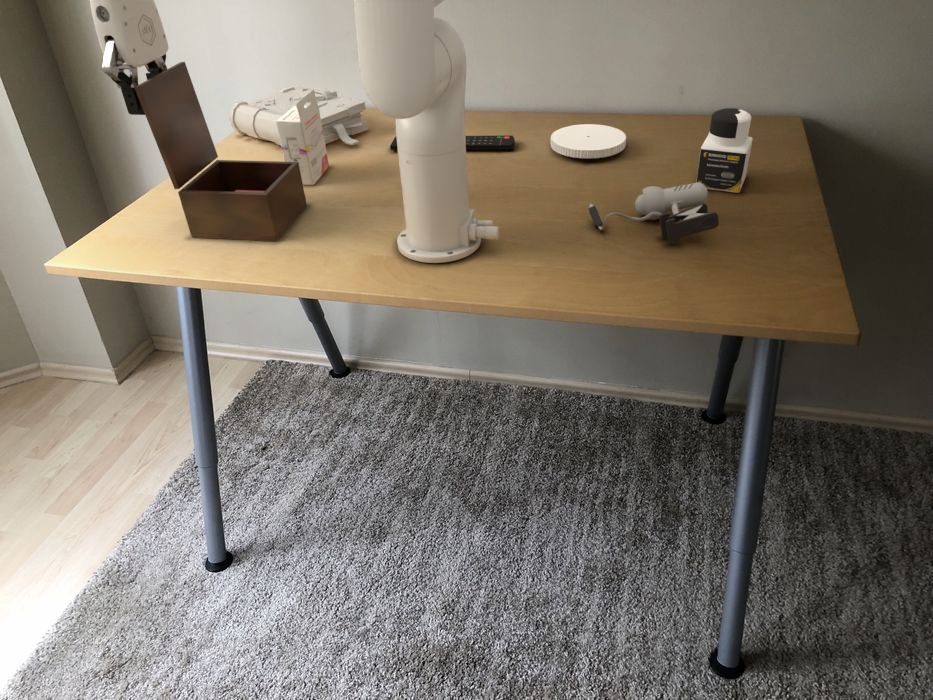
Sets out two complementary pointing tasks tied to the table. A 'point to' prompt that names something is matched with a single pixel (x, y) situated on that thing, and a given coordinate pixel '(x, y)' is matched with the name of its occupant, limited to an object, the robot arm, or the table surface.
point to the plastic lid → (588, 141)
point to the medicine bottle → (726, 151)
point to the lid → (177, 123)
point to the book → (264, 112)
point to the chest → (243, 200)
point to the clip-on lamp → (671, 199)
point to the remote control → (480, 142)
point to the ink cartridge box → (304, 139)
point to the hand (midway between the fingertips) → (151, 105)
